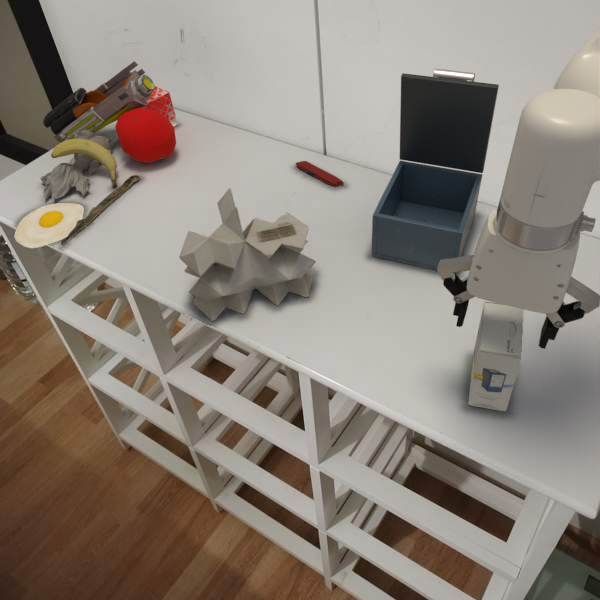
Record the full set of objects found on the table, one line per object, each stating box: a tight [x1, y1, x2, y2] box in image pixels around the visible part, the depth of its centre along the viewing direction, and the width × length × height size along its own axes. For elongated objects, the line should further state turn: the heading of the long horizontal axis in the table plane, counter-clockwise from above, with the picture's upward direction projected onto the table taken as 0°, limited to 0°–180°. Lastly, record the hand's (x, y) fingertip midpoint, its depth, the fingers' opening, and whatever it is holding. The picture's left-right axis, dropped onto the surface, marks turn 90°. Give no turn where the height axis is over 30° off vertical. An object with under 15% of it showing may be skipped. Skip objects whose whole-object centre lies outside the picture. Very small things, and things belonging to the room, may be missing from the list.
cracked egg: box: [13, 202, 85, 249], centre depth 108 cm, size 13×12×1 cm
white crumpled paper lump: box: [178, 187, 317, 322], centre depth 91 cm, size 23×19×15 cm
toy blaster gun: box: [42, 61, 156, 143], centre depth 121 cm, size 9×26×10 cm
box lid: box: [399, 68, 500, 174], centre depth 91 cm, size 16×14×5 cm
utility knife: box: [295, 160, 345, 187], centre depth 112 cm, size 12×1×2 cm
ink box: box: [467, 301, 524, 412], centre depth 74 cm, size 9×5×12 cm, turn 164°
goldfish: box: [39, 130, 113, 201], centre depth 118 cm, size 20×10×9 cm
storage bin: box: [371, 160, 483, 275], centre depth 96 cm, size 16×14×9 cm
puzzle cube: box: [141, 85, 179, 128], centre depth 127 cm, size 8×8×8 cm
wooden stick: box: [60, 174, 141, 246], centre depth 109 cm, size 2×23×2 cm, turn 153°
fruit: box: [50, 139, 118, 188], centre depth 114 cm, size 7×13×3 cm
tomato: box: [114, 108, 177, 164], centre depth 118 cm, size 11×13×10 cm
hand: (501, 328), depth 69 cm, fingers open, 9 cm apart
